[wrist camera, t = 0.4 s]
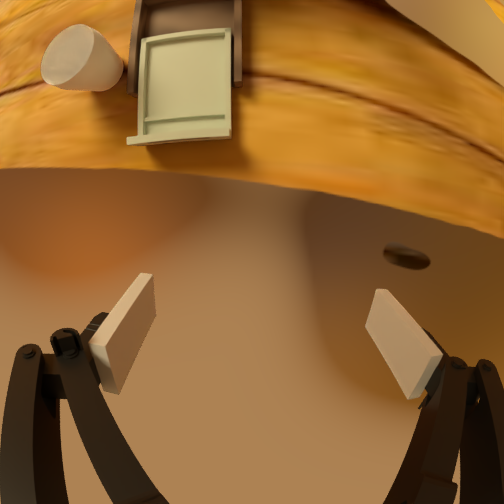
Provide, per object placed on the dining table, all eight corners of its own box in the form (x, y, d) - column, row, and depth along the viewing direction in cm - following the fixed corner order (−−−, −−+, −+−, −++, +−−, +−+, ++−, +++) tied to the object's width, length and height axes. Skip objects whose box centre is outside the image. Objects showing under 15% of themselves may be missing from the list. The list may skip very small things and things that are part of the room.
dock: (143, 4, 29) (136, -4, 26) (241, -8, 29) (241, -18, 26) (135, 97, 35) (126, 93, 31) (242, 86, 35) (241, 81, 32)
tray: (145, 43, 31) (132, 29, 25) (231, 33, 31) (229, 15, 26) (142, 146, 37) (126, 145, 31) (231, 139, 37) (229, 136, 31)
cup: (80, 102, 34) (35, 93, 23) (86, 54, 31) (46, 34, 20) (127, 94, 34) (89, 77, 23) (134, 43, 31) (101, 15, 20)
